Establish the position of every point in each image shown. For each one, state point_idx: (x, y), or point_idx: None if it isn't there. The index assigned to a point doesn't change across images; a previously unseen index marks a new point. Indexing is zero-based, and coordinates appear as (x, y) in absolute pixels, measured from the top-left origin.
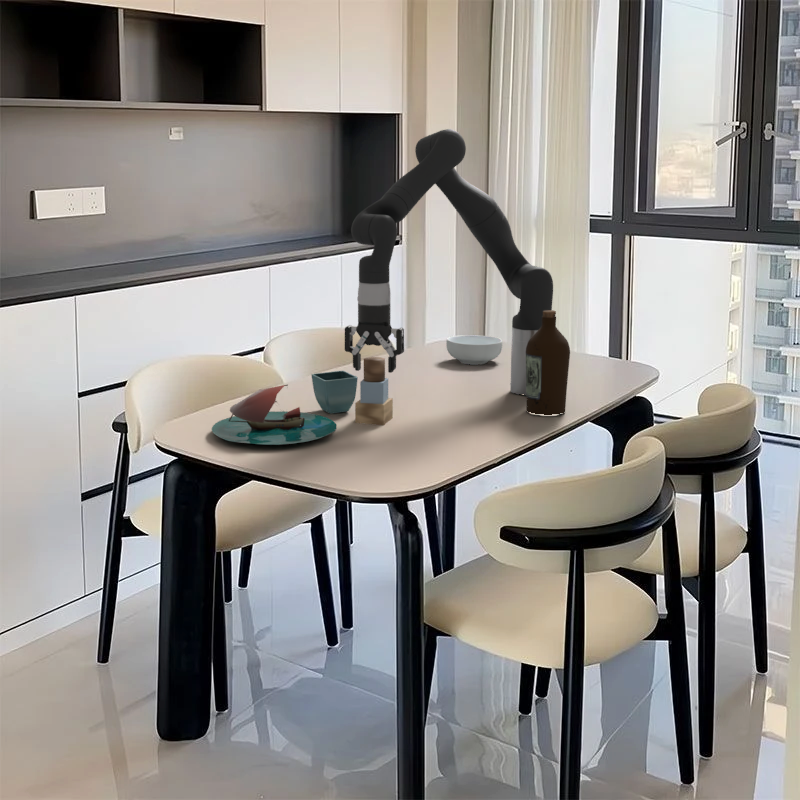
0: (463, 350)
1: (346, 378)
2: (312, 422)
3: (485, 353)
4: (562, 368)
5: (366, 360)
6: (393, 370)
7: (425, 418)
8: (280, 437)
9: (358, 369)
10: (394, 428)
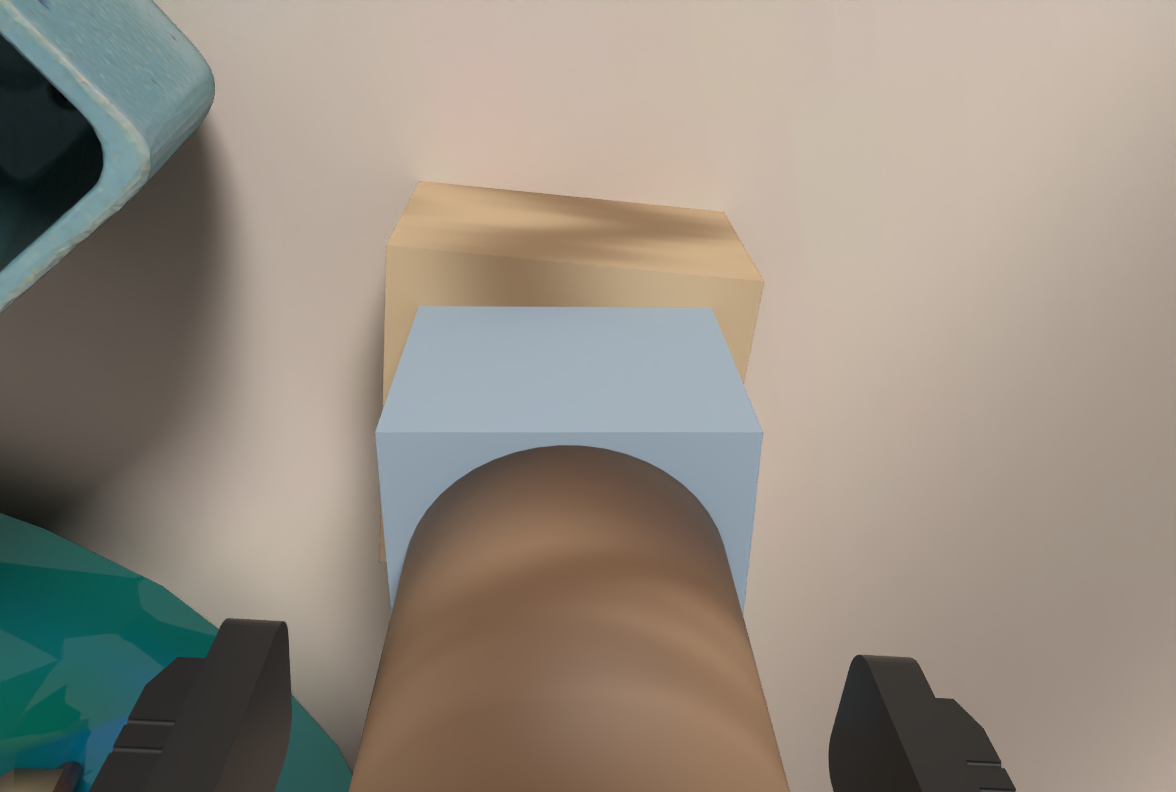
0: None
1: (7, 295)
2: (108, 704)
3: None
4: None
5: None
6: (909, 659)
7: (1065, 159)
8: None
9: (285, 726)
10: (783, 547)
